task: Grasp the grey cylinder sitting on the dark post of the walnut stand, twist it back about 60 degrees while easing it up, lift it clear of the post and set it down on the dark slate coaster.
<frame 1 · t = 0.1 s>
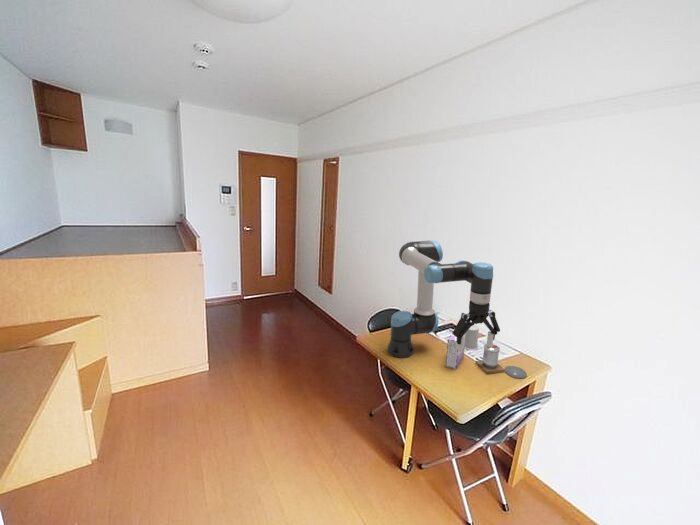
hand: (474, 348, 128), 28 cm above the table, fingers open, 13 cm apart
candy box: (454, 362, 168), on the table
post stand: (489, 367, 162), on the table
grey cylinder: (490, 361, 161), point 3 cm above the table, touching post stand
coaster: (515, 372, 157), on the table
cup: (469, 345, 185), on the table
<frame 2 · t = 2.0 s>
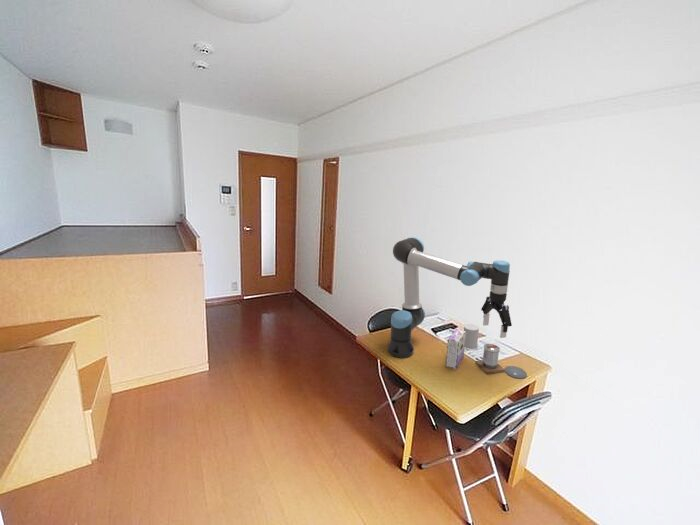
hand: (493, 331, 157), 21 cm above the table, fingers open, 13 cm apart
nothing on the table moved.
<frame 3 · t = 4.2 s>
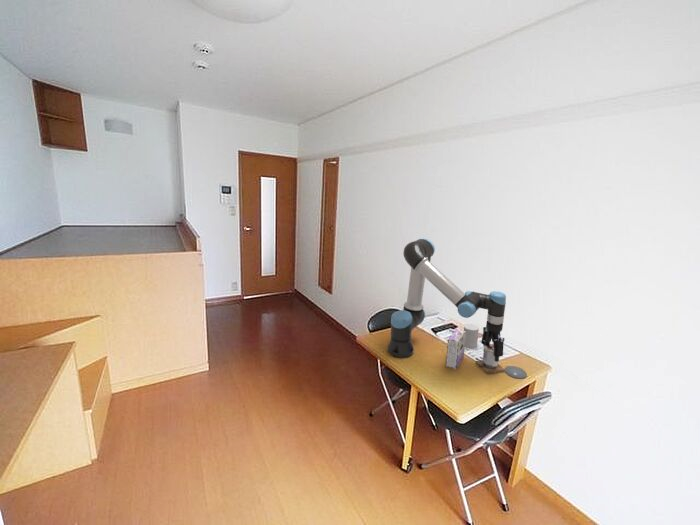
hand: (490, 361, 161), 4 cm above the table, fingers closed on grey cylinder, 7 cm apart
grey cylinder: (490, 361, 161), point 4 cm above the table, touching gripper, post stand
everything else where it was.
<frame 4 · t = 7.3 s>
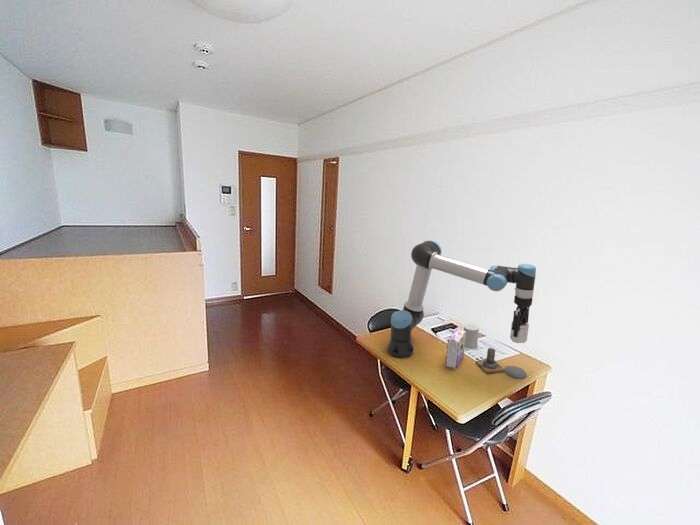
hand: (518, 339, 153), 19 cm above the table, fingers closed on grey cylinder, 7 cm apart
grey cylinder: (518, 339, 153), point 19 cm above the table, touching gripper
everything else where it was.
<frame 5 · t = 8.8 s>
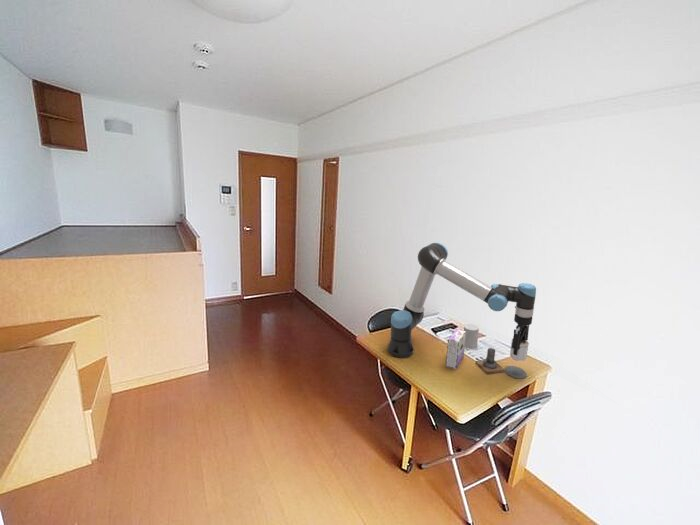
hand: (518, 356, 155), 9 cm above the table, fingers closed on grey cylinder, 7 cm apart
grey cylinder: (518, 356, 155), point 9 cm above the table, touching gripper
everything else where it was.
when the fingers open (3 cm above the table, at t = 10.3 s): grey cylinder stays where it is, resting on coaster.
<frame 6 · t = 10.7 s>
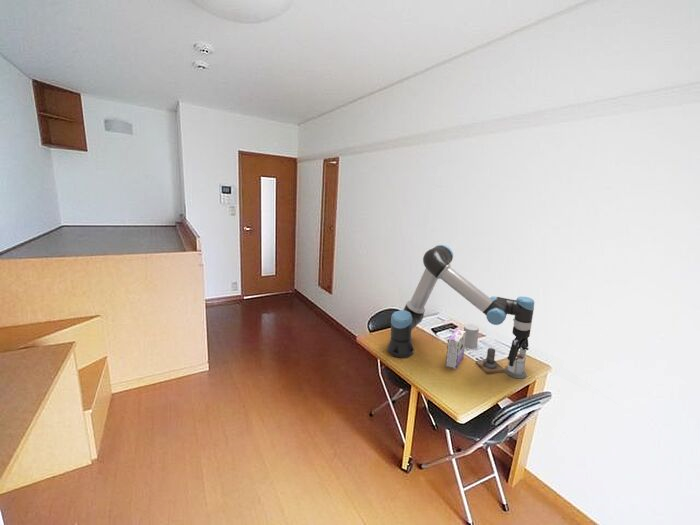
hand: (516, 365, 156), 4 cm above the table, fingers open, 13 cm apart
grey cylinder: (515, 371, 157), point 1 cm above the table, touching coaster
everything else where it was.
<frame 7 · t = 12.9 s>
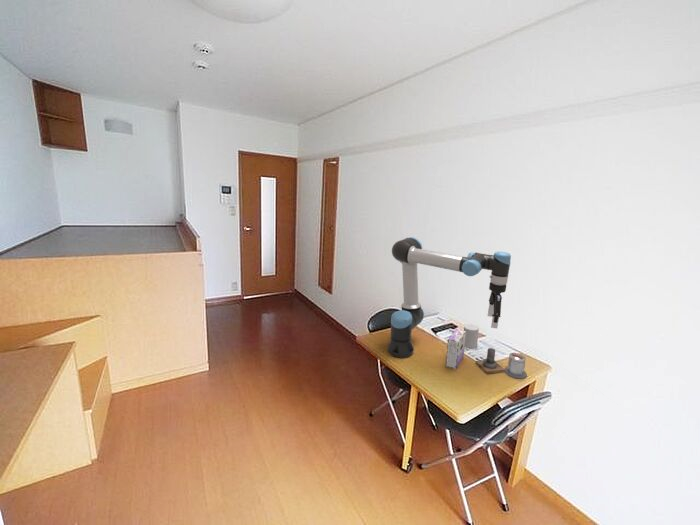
hand: (492, 321, 158), 25 cm above the table, fingers open, 13 cm apart
nothing on the table moved.
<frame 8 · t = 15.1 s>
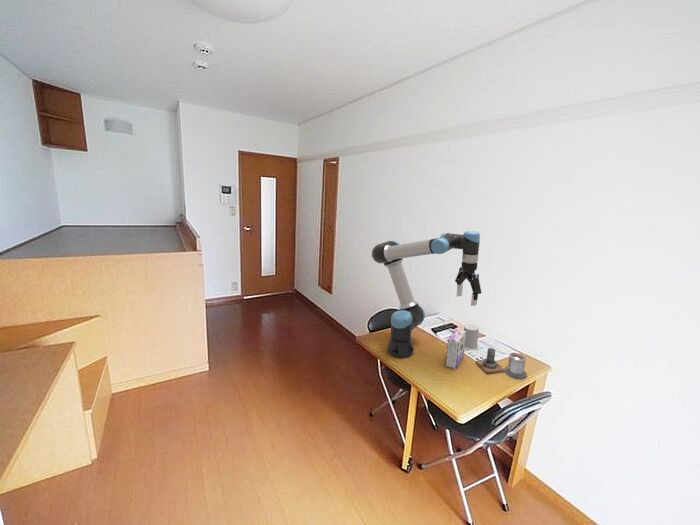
hand: (466, 300, 162), 35 cm above the table, fingers open, 13 cm apart
nothing on the table moved.
at the end: grey cylinder inside the target area on the coaster (0.1 cm from its centre), point 0.8 cm above the coaster's base; grey cylinder tilted 0°; grey cylinder touching coaster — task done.
